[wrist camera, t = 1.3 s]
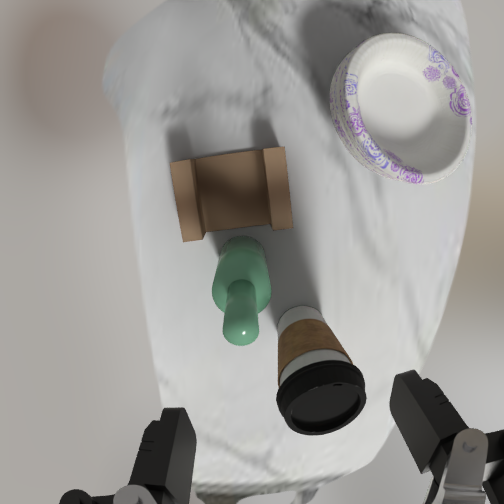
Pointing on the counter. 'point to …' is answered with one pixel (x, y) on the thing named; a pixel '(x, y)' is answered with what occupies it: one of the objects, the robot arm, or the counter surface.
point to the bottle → (241, 288)
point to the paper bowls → (401, 109)
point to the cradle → (232, 192)
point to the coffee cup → (315, 375)
